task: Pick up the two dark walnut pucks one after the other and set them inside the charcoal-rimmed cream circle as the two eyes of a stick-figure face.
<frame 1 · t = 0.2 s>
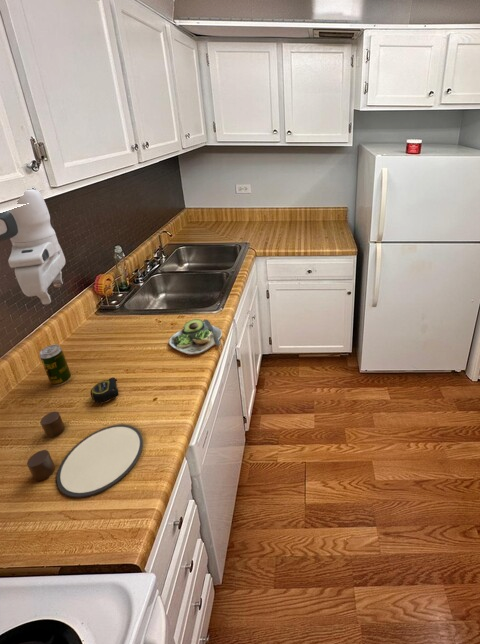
hand: (53, 294, 90), 33 cm above the counter, tool pointing down, fingers open, 8 cm apart
eye puck 1: (44, 472, 78), on the counter
tape measure: (109, 395, 100), on the counter
green guarana soda can: (61, 380, 105), on the counter
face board: (102, 458, 81), on the counter
eye puck 2: (55, 431, 88), on the counter
avocado toast plate: (196, 339, 124), on the counter
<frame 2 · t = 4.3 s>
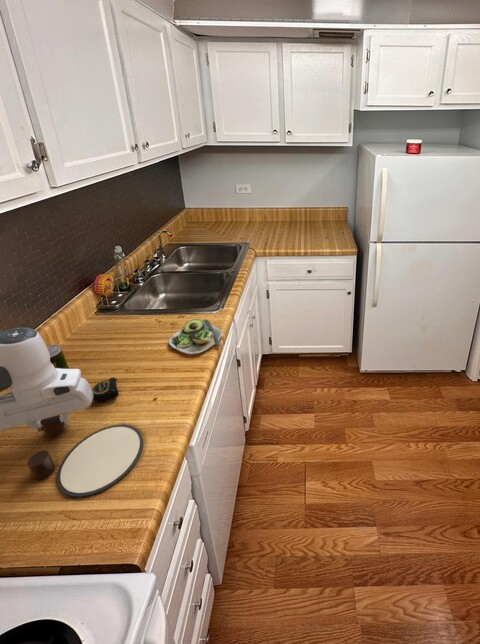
hand: (53, 426, 87), 2 cm above the counter, tool pointing down, fingers closed on eye puck 2, 4 cm apart
eye puck 2: (55, 431, 88), on the counter, touching gripper
everything else where it was.
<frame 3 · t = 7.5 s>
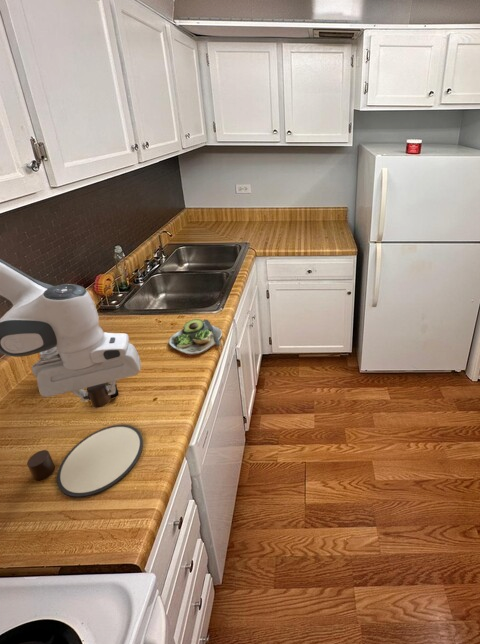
hand: (99, 395, 81), 14 cm above the counter, tool pointing down, fingers closed on eye puck 2, 4 cm apart
eye puck 2: (101, 401, 82), point 13 cm above the counter, touching gripper
everything else where it was.
when the fingers open (2 cm above the counter, at t = 10.5 s): eye puck 2 stays where it is, resting on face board.
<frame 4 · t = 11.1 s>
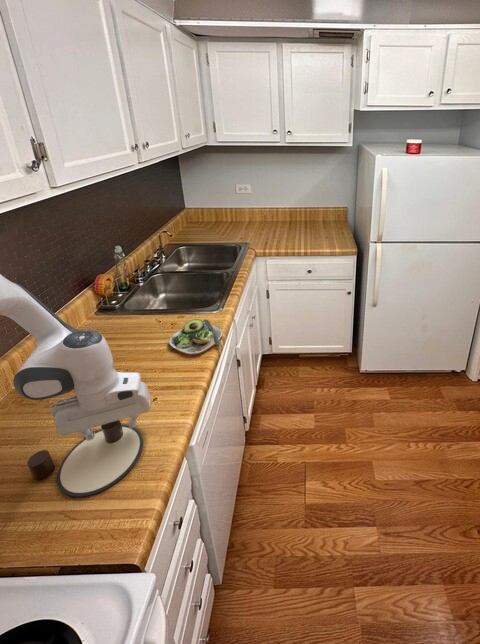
hand: (112, 431, 85), 2 cm above the counter, tool pointing down, fingers open, 8 cm apart
eye puck 2: (114, 436, 86), point 1 cm above the counter, touching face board
everything else where it was.
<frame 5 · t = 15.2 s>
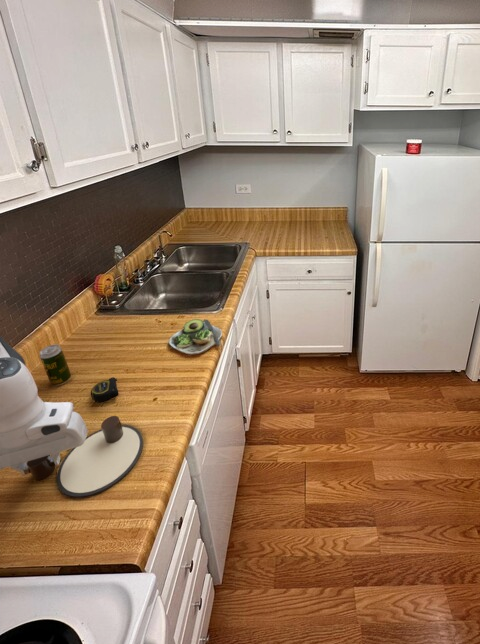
hand: (42, 467, 77), 2 cm above the counter, tool pointing down, fingers closed on eye puck 1, 4 cm apart
eye puck 1: (44, 472, 78), on the counter, touching gripper
everything else where it was.
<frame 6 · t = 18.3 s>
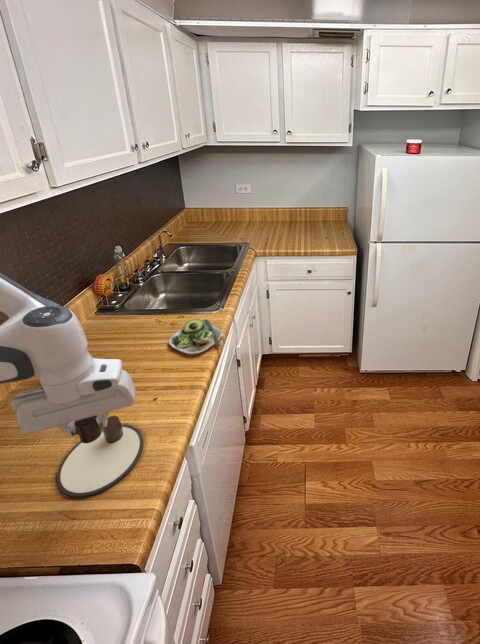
hand: (89, 429, 72), 15 cm above the counter, tool pointing down, fingers closed on eye puck 1, 4 cm apart
eye puck 1: (91, 435, 73), point 13 cm above the counter, touching gripper
everything else where it was.
when the fingers open (2 cm above the counter, at t = 21.4 s): eye puck 1 stays where it is, resting on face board.
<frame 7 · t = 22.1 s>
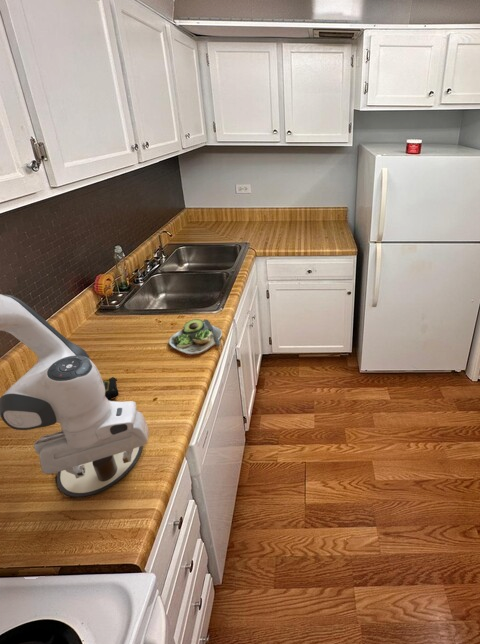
hand: (105, 467, 76), 3 cm above the counter, tool pointing down, fingers open, 8 cm apart
eye puck 1: (107, 472, 77), point 1 cm above the counter, touching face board
everything else where it was.
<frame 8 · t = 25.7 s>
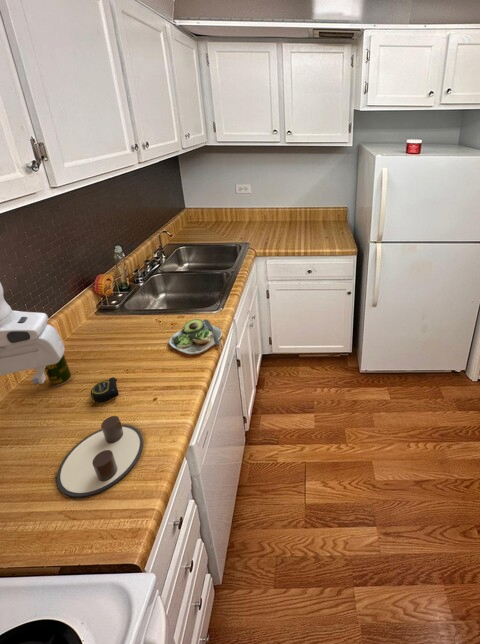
hand: (11, 388, 67), 27 cm above the counter, tool pointing down, fingers open, 8 cm apart
nothing on the counter moved.
at the end: eye puck 2 inside the target area on the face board (1.3 cm from its centre), point 0.6 cm above the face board's base; eye puck 1 inside the target area on the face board (1.2 cm from its centre), point 0.6 cm above the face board's base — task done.
